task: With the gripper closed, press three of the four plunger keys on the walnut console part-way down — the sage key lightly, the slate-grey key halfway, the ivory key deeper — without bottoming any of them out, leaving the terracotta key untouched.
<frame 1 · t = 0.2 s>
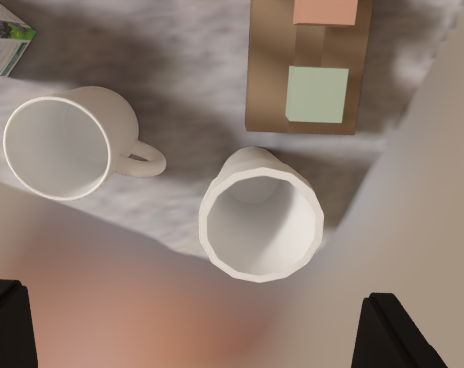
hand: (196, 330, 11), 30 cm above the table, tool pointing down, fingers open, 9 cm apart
mug: (118, 132, 40), on the table
foam cup: (251, 174, 41), on the table
sage key: (310, 91, 32), point 6 cm above the table, slide at 0.0 cm
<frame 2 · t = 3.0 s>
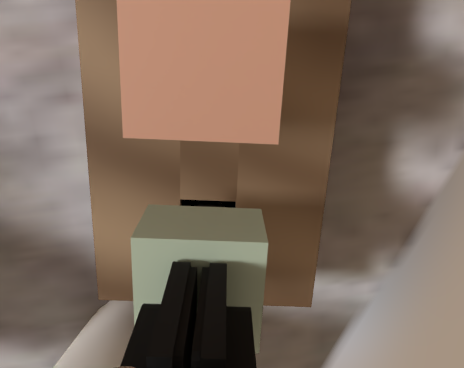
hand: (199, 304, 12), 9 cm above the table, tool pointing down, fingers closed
foam cup: (142, 334, 24), on the table
terracotta key: (209, 58, 12), point 6 cm above the table, slide at 0.0 cm
sage key: (204, 247, 15), point 6 cm above the table, slide at 0.3 cm, touching gripper
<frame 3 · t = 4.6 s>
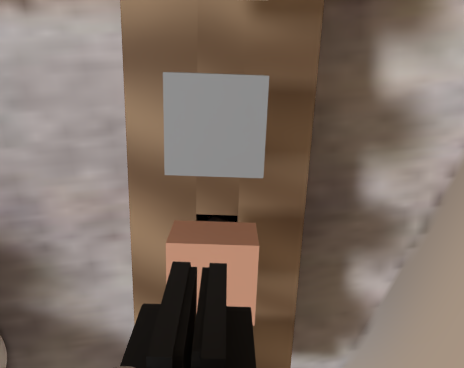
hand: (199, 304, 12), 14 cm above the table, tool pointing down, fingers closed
slate-grey key: (218, 117, 18), point 6 cm above the table, slide at 0.0 cm
terracotta key: (214, 252, 20), point 6 cm above the table, slide at 0.0 cm
console: (220, 160, 25), on the table
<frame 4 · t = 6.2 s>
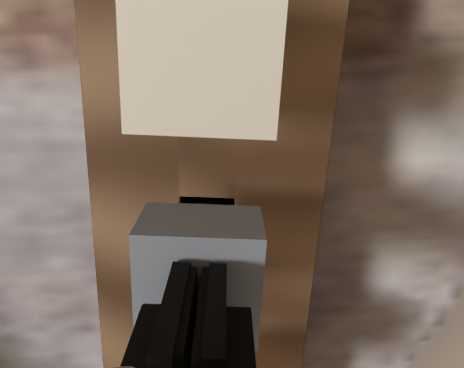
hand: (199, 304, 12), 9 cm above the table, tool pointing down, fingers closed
slate-grey key: (203, 245, 15), point 6 cm above the table, slide at 0.2 cm, touching gripper
console: (208, 249, 22), on the table
ivory key: (207, 55, 12), point 6 cm above the table, slide at 0.0 cm
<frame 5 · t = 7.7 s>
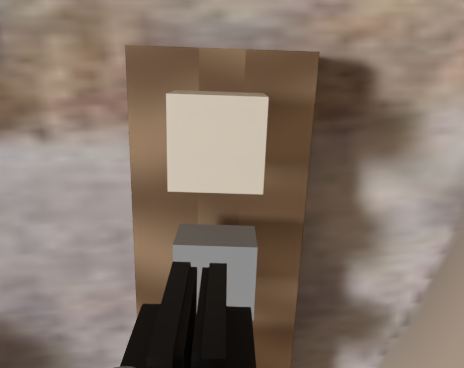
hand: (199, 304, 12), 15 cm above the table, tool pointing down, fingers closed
slate-grey key: (217, 252, 22), point 5 cm above the table, slide at 1.2 cm
console: (218, 264, 28), on the table
ivory key: (219, 133, 19), point 6 cm above the table, slide at 0.0 cm
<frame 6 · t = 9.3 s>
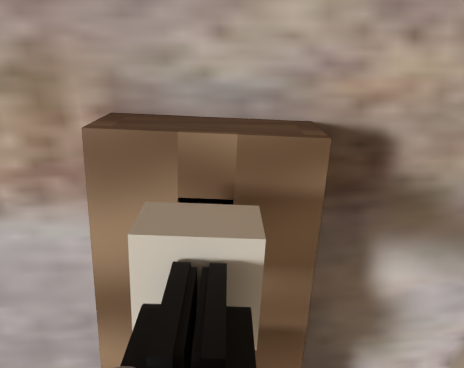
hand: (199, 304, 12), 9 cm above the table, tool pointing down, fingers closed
console: (205, 351, 24), on the table
ivory key: (202, 244, 15), point 6 cm above the table, slide at 0.4 cm, touching gripper
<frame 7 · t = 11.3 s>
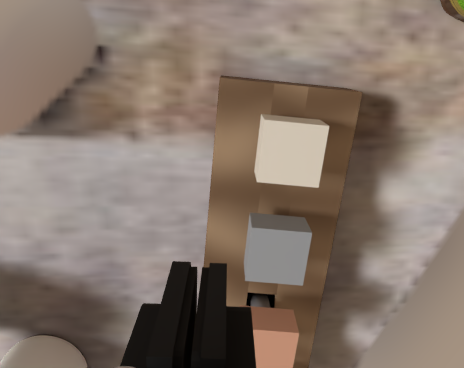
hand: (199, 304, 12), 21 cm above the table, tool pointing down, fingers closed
slate-grey key: (272, 235, 29), point 5 cm above the table, slide at 1.2 cm
terracotta key: (262, 323, 30), point 6 cm above the table, slide at 0.0 cm
console: (261, 246, 35), on the table
ivory key: (285, 143, 27), point 5 cm above the table, slide at 1.6 cm
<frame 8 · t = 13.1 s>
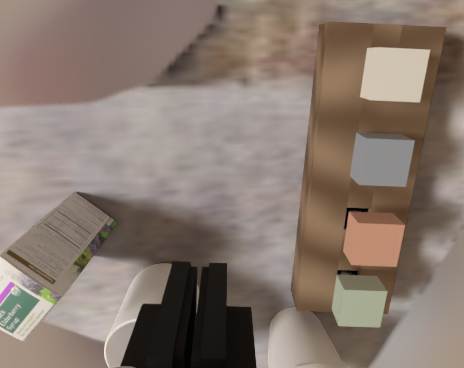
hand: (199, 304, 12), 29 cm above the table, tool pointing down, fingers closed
mug: (181, 295, 46), on the table
foam cup: (294, 327, 47), on the table
slate-grey key: (372, 153, 35), point 5 cm above the table, slide at 1.2 cm
terracotta key: (364, 229, 36), point 6 cm above the table, slide at 0.0 cm
syrup box: (82, 222, 43), on the table
console: (350, 174, 41), on the table
ivory key: (383, 73, 33), point 5 cm above the table, slide at 1.6 cm
sage key: (351, 288, 39), point 6 cm above the table, slide at 0.7 cm
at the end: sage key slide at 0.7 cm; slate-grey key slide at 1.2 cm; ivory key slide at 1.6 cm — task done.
